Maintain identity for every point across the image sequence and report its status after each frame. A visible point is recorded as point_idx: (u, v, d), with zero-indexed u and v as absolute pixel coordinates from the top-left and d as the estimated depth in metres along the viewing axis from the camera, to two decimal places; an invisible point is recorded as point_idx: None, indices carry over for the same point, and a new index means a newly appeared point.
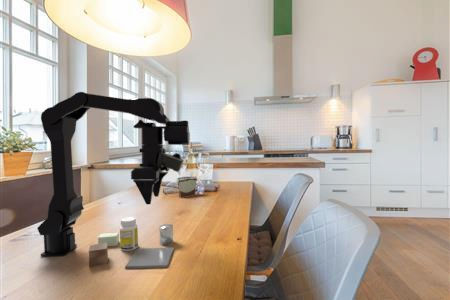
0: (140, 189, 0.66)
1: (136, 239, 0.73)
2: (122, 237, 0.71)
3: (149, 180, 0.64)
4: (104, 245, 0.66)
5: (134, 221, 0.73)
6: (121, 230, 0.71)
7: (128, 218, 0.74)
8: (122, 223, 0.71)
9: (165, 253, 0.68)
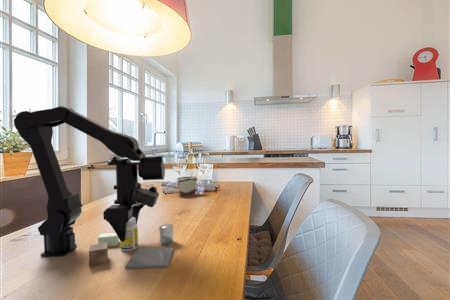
0: (114, 227, 0.67)
1: (136, 239, 0.73)
2: None
3: None
4: (104, 245, 0.66)
5: (134, 221, 0.73)
6: None
7: None
8: None
9: (165, 253, 0.68)
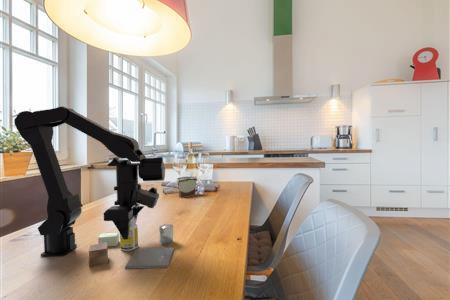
0: (117, 226, 0.69)
1: (136, 239, 0.73)
2: (122, 237, 0.71)
3: None
4: (104, 245, 0.66)
5: (134, 221, 0.73)
6: None
7: None
8: None
9: (165, 253, 0.68)
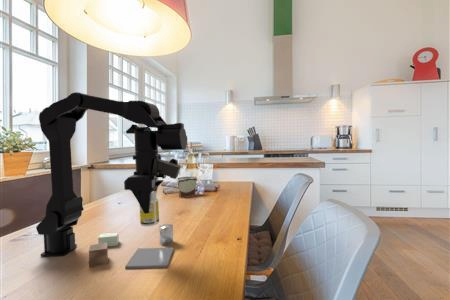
0: (137, 198, 0.63)
1: (157, 214, 0.67)
2: (142, 211, 0.65)
3: None
4: (104, 245, 0.66)
5: (155, 194, 0.66)
6: None
7: None
8: None
9: (165, 253, 0.68)
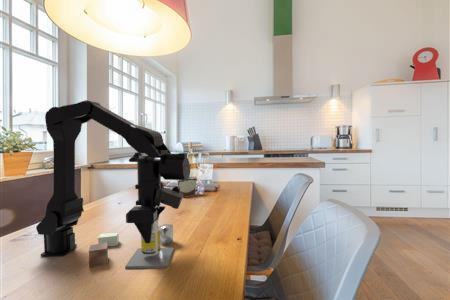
0: (139, 228, 0.62)
1: (159, 243, 0.66)
2: (143, 240, 0.64)
3: None
4: (104, 245, 0.66)
5: (157, 223, 0.66)
6: None
7: None
8: None
9: (165, 253, 0.68)
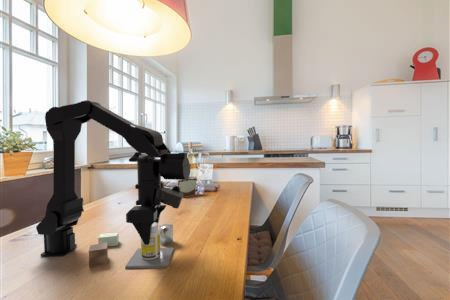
0: (138, 229, 0.61)
1: (159, 246, 0.66)
2: (143, 244, 0.64)
3: None
4: (104, 245, 0.66)
5: (157, 227, 0.66)
6: None
7: None
8: None
9: (165, 253, 0.68)
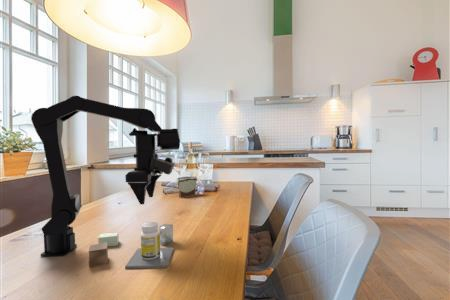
0: (134, 191, 0.74)
1: (158, 246, 0.66)
2: (143, 244, 0.64)
3: (142, 182, 0.72)
4: (104, 245, 0.66)
5: (156, 227, 0.66)
6: (142, 237, 0.64)
7: (149, 223, 0.67)
8: (143, 229, 0.65)
9: (165, 253, 0.68)
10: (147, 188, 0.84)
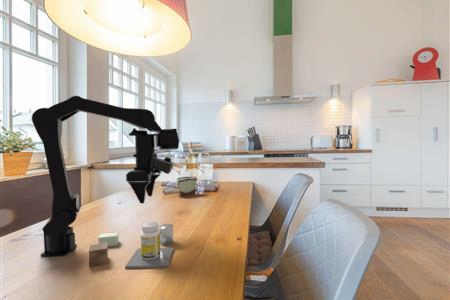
0: (134, 190, 0.75)
1: (159, 246, 0.66)
2: (143, 244, 0.64)
3: (142, 182, 0.73)
4: (104, 245, 0.66)
5: (156, 227, 0.66)
6: (143, 237, 0.64)
7: (149, 223, 0.67)
8: (144, 229, 0.65)
9: (165, 253, 0.68)
10: (146, 187, 0.85)
